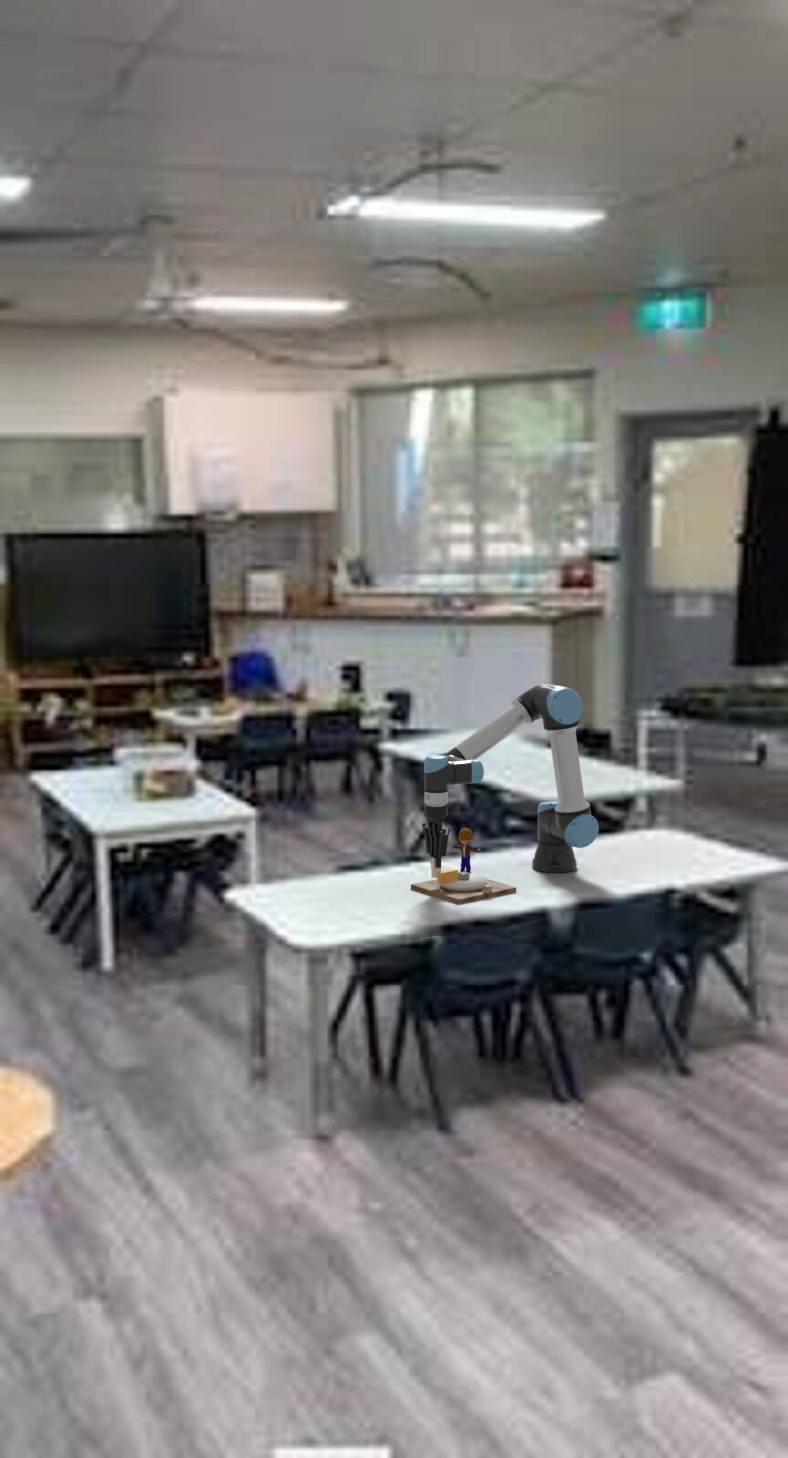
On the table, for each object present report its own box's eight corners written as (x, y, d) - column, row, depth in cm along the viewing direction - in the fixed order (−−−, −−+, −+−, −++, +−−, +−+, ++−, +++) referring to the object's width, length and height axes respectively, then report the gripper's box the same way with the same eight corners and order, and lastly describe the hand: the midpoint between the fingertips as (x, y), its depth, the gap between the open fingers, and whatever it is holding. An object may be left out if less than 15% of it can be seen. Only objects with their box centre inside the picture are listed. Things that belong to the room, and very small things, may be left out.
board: (467, 877, 479) (467, 867, 478) (516, 891, 460) (516, 881, 459) (410, 888, 464) (410, 878, 464) (458, 904, 446) (458, 893, 445)
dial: (466, 877, 472) (466, 860, 472) (496, 885, 461) (496, 869, 460) (424, 885, 462) (424, 868, 461) (454, 894, 450) (454, 877, 449)
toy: (447, 871, 487) (447, 828, 485) (454, 868, 492) (454, 825, 490) (477, 875, 482) (477, 831, 480) (483, 871, 487) (483, 828, 485)
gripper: (415, 802, 460) (415, 874, 463) (437, 809, 449) (437, 882, 452) (434, 799, 464) (434, 871, 467) (457, 806, 453) (457, 879, 456)
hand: (436, 877), depth 460 cm, fingers closed
